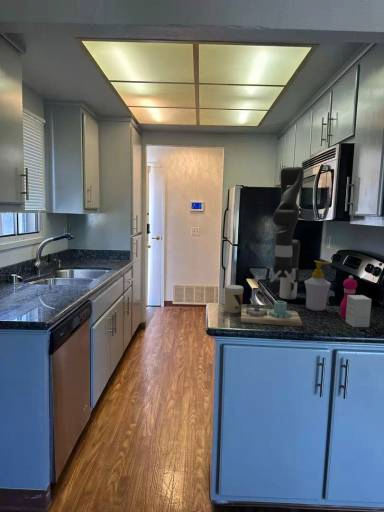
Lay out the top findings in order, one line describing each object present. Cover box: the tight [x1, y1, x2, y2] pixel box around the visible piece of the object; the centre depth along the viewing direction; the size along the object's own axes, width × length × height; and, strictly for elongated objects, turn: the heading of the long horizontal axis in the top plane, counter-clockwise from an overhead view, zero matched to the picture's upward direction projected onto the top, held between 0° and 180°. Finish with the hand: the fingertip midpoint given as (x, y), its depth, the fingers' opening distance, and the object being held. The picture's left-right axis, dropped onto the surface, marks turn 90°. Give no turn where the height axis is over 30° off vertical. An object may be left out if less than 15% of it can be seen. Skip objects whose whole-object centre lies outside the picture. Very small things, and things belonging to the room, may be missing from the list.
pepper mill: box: [339, 275, 358, 319], centre depth 164 cm, size 7×7×20 cm
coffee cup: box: [223, 284, 244, 314], centre depth 171 cm, size 9×9×12 cm
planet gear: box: [269, 300, 291, 318], centre depth 159 cm, size 10×10×6 cm
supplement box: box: [345, 294, 372, 328], centre depth 154 cm, size 7×7×13 cm
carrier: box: [240, 302, 303, 327], centre depth 160 cm, size 16×26×6 cm, turn 81°
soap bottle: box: [304, 260, 332, 312], centre depth 176 cm, size 13×13×25 cm
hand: (281, 290), depth 158 cm, fingers open, 8 cm apart
